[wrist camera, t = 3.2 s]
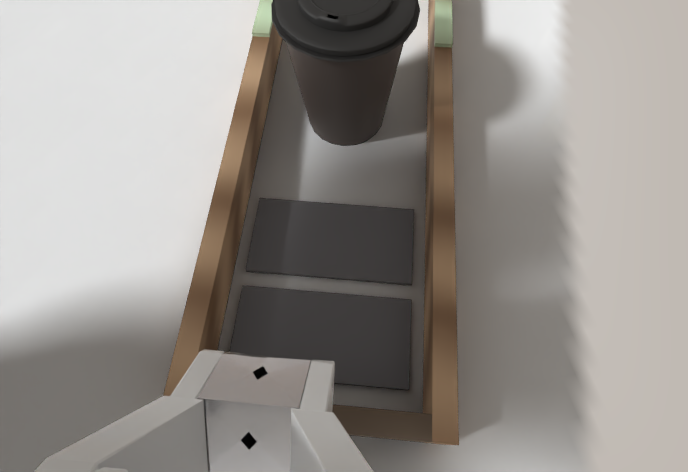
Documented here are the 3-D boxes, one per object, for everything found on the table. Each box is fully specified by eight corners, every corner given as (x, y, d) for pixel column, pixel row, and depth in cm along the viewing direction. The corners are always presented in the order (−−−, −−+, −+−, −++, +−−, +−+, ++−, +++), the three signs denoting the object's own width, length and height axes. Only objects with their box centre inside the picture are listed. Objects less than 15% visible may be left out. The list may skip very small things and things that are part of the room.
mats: (408, 390, 24) (408, 389, 24) (226, 373, 24) (225, 372, 24) (413, 211, 29) (413, 209, 28) (260, 200, 29) (259, 198, 29)
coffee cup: (302, 173, 30) (282, 56, 21) (280, 84, 33) (255, -49, 24) (416, 148, 31) (445, 25, 22) (384, 65, 34) (397, -72, 25)
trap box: (445, 444, 23) (464, 445, 19) (180, 418, 23) (149, 413, 20) (442, -17, 38) (452, -66, 34) (281, -25, 39) (274, -74, 35)
